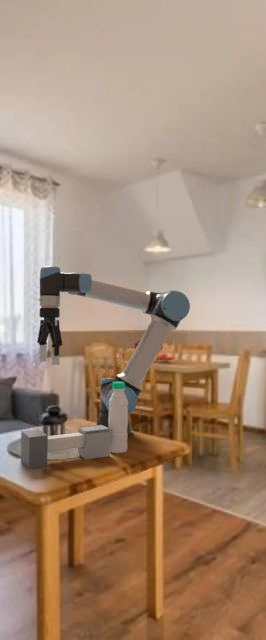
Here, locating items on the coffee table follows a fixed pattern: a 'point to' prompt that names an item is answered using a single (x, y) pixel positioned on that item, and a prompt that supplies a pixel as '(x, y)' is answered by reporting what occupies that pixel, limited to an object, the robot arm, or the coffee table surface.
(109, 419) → the water bottle
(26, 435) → the socket fitting
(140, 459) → the coffee table surface
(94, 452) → the sleeve
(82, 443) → the tube
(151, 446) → the coffee table surface
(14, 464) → the coffee table surface
